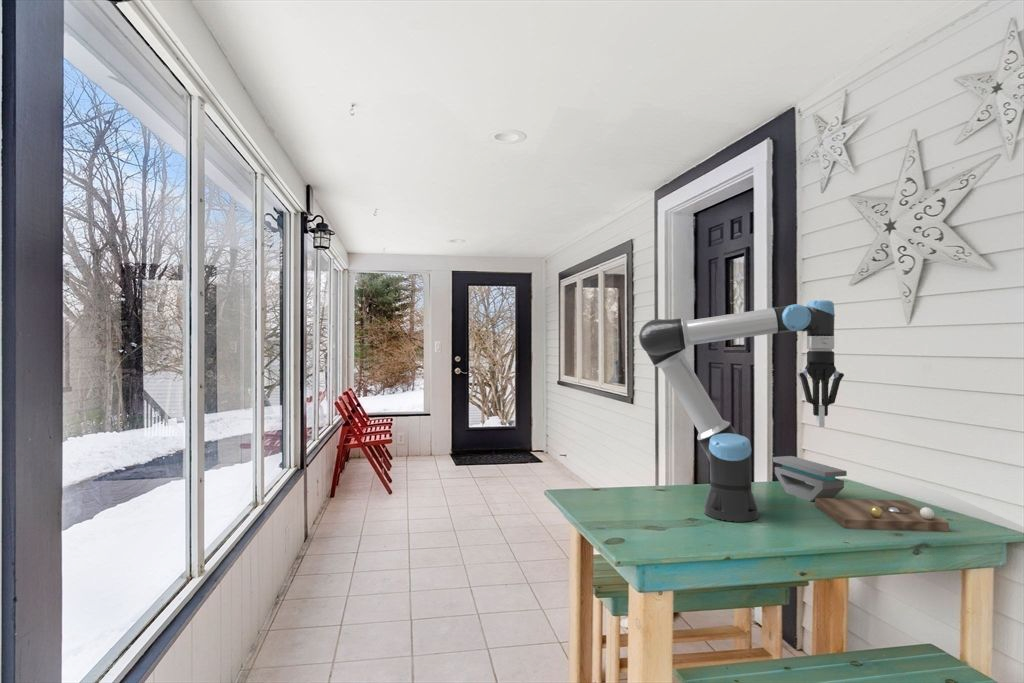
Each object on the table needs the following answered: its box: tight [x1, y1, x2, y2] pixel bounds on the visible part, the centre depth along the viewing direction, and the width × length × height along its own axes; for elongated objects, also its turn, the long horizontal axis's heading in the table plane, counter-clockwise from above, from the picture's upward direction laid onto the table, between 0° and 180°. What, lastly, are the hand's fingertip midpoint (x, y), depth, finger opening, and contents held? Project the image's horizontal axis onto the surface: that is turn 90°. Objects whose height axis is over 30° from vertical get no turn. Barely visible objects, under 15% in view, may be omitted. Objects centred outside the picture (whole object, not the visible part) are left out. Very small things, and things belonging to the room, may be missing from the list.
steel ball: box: [888, 507, 900, 512], centre depth 166 cm, size 3×3×3 cm
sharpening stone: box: [772, 455, 848, 502], centre depth 192 cm, size 25×8×11 cm, turn 12°
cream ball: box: [920, 506, 935, 519], centre depth 158 cm, size 3×3×3 cm
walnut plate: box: [814, 497, 950, 533], centre depth 167 cm, size 26×22×2 cm
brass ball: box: [869, 506, 883, 518], centre depth 159 cm, size 3×3×3 cm
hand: (820, 426), depth 178 cm, fingers closed
